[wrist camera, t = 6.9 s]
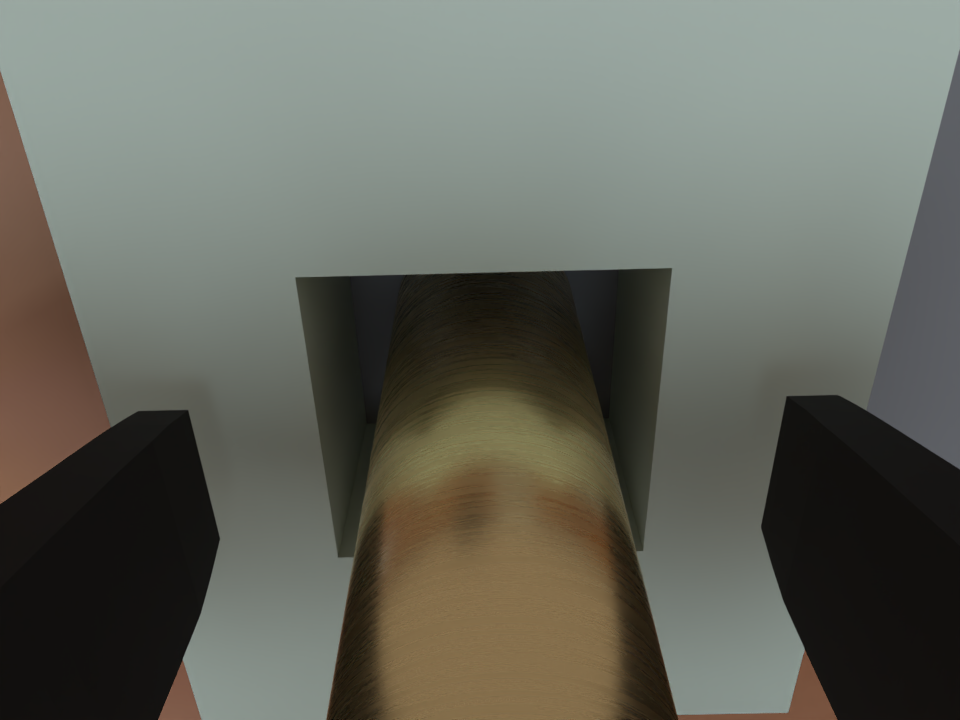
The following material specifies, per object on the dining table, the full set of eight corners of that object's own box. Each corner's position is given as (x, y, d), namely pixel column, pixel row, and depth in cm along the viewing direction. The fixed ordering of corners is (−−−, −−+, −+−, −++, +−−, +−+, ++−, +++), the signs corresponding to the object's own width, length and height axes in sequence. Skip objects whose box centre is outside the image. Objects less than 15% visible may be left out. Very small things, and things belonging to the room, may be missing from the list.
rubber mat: (1113, 606, 18) (1129, 623, 17) (229, 624, 18) (223, 641, 18) (1535, -207, 10) (1581, -213, 10) (26, -163, 11) (6, -166, 10)
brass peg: (569, 381, 14) (720, 1127, 6) (404, 386, 14) (308, 1137, 6) (575, 224, 13) (793, 928, 4) (390, 230, 13) (230, 942, 4)
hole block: (731, 564, 17) (788, 713, 13) (253, 574, 17) (203, 723, 14) (848, -101, 11) (999, -103, 8) (104, -79, 11) (-44, -74, 8)
